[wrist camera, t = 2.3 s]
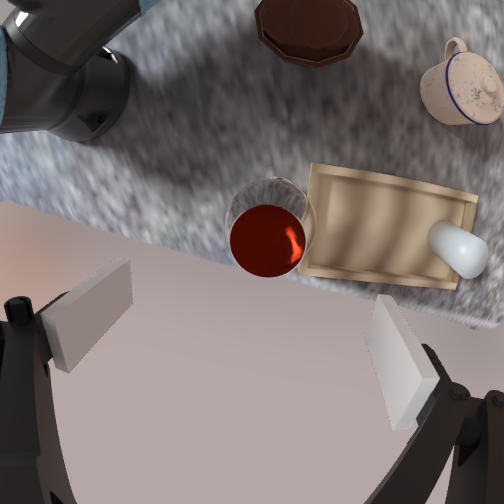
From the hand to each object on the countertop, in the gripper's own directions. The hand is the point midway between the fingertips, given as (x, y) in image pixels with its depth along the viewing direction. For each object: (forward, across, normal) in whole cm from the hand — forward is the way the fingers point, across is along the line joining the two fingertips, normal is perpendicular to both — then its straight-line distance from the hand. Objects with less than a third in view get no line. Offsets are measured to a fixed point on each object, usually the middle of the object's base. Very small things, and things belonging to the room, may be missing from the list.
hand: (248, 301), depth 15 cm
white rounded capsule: (+25, +24, 0) cm, 35 cm away
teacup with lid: (+26, +22, +22) cm, 40 cm away
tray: (+26, +16, 0) cm, 31 cm away
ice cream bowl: (+26, +2, +22) cm, 34 cm away
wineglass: (+26, 0, +1) cm, 26 cm away
